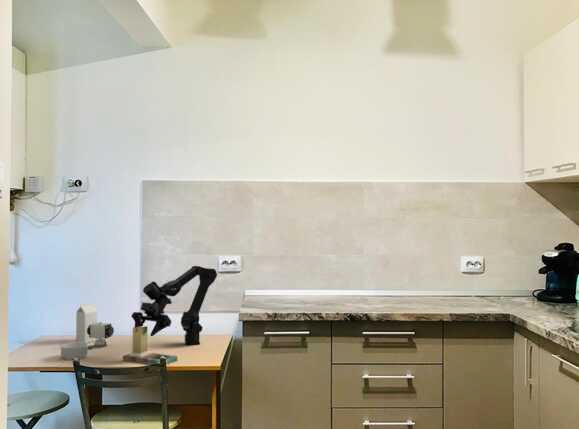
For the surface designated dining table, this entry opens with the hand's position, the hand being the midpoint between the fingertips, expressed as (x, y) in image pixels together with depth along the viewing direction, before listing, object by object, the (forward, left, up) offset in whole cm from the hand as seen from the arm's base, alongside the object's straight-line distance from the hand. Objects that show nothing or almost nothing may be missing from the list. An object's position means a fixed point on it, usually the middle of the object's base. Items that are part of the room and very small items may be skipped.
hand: (142, 334), depth 215 cm
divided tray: (-3, +5, -10) cm, 12 cm away
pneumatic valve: (+16, -30, -10) cm, 35 cm away
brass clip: (+1, +1, -7) cm, 7 cm away
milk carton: (+22, -45, -10) cm, 51 cm away
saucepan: (+24, -13, -11) cm, 29 cm away
